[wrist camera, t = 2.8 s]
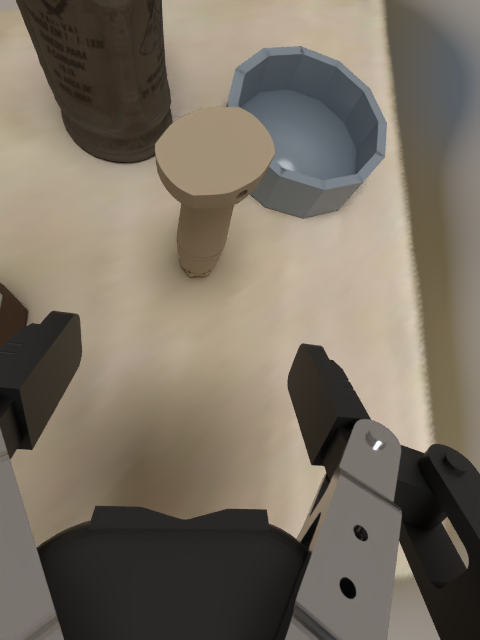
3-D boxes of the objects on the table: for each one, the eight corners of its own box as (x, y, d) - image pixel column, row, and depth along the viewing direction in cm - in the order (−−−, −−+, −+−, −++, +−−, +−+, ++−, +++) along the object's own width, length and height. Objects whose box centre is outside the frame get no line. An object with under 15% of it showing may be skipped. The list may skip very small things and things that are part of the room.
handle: (154, 260, 29) (136, 135, 15) (208, 230, 31) (238, 93, 17) (184, 301, 29) (193, 212, 15) (236, 267, 31) (291, 160, 16)
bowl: (208, 190, 32) (214, 156, 27) (236, 72, 36) (245, 24, 32) (353, 233, 35) (382, 207, 30) (363, 118, 39) (389, 80, 34)
